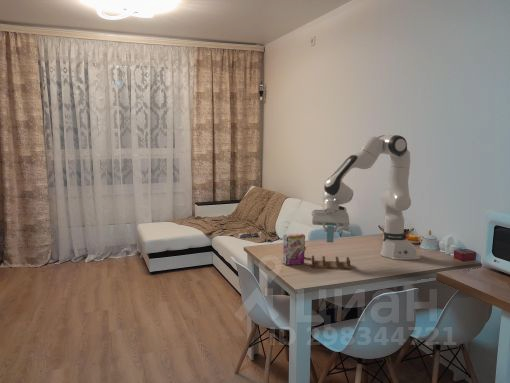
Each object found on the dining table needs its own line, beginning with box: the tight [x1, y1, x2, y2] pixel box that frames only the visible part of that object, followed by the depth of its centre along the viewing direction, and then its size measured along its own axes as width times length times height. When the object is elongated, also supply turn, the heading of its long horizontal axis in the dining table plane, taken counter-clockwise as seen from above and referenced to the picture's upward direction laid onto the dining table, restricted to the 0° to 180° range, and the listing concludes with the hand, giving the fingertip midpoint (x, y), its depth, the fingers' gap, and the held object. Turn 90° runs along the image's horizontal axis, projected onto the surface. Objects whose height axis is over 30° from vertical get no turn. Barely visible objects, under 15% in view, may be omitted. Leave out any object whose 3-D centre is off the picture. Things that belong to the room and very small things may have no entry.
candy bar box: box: [282, 232, 306, 266], centre depth 226 cm, size 11×5×16 cm, turn 111°
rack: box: [311, 255, 351, 271], centre depth 224 cm, size 20×10×4 cm, turn 83°
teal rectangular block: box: [326, 224, 335, 244], centre depth 225 cm, size 4×4×9 cm
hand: (330, 231), depth 224 cm, fingers closed on teal rectangular block, 3 cm apart
